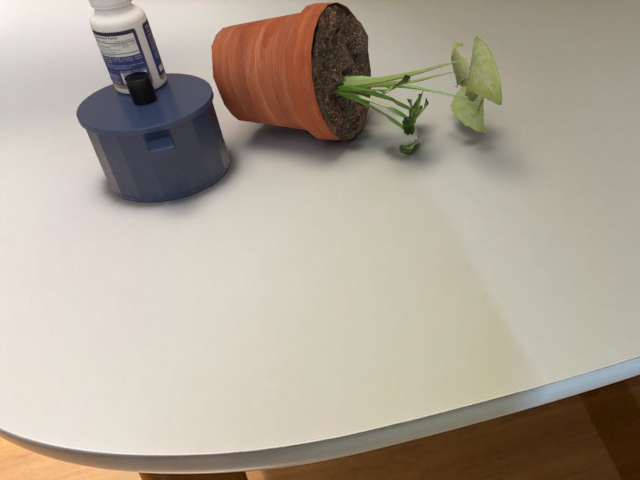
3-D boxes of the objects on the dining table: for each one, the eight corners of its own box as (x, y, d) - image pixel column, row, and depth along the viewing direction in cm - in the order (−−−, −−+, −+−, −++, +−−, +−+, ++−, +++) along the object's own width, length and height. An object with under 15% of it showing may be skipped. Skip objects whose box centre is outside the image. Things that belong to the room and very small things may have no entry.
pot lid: (86, 154, 76) (70, 118, 74) (76, 100, 85) (61, 66, 83) (226, 122, 80) (216, 86, 77) (203, 74, 89) (193, 40, 86)
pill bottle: (141, 71, 87) (107, -25, 81) (178, 78, 85) (147, -19, 79) (103, 91, 84) (65, -7, 77) (142, 99, 82) (105, -1, 75)
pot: (119, 227, 80) (89, 158, 74) (103, 150, 92) (76, 86, 86) (245, 194, 83) (225, 127, 78) (213, 125, 95) (194, 62, 90)
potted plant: (227, 172, 90) (530, 177, 81) (179, 31, 80) (516, 19, 71) (289, 117, 102) (560, 116, 92) (253, -12, 92) (552, -27, 83)
